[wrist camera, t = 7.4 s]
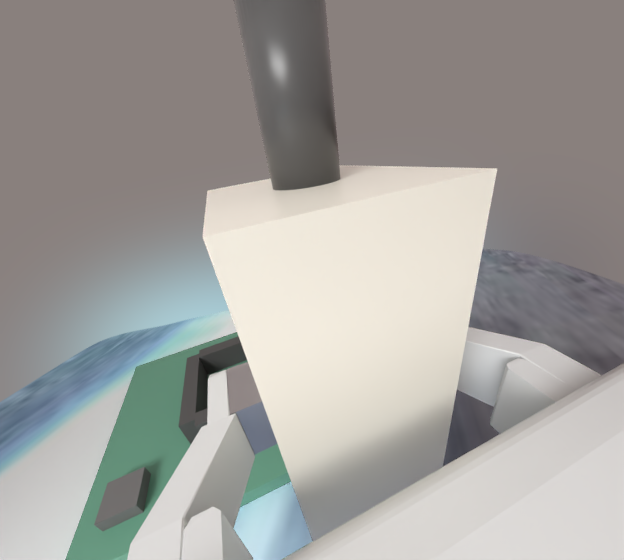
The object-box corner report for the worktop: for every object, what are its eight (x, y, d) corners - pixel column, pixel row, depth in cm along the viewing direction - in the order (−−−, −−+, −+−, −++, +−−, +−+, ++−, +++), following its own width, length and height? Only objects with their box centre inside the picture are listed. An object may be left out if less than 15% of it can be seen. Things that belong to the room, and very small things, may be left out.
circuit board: (68, 594, 15) (23, 574, 13) (141, 374, 30) (125, 351, 28) (391, 429, 20) (390, 399, 18) (312, 313, 35) (308, 290, 33)
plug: (330, 590, 8) (-20, -375, 1) (289, 444, 12) (161, 46, 5) (431, 527, 9) (566, -211, 2) (361, 410, 13) (329, 37, 6)
